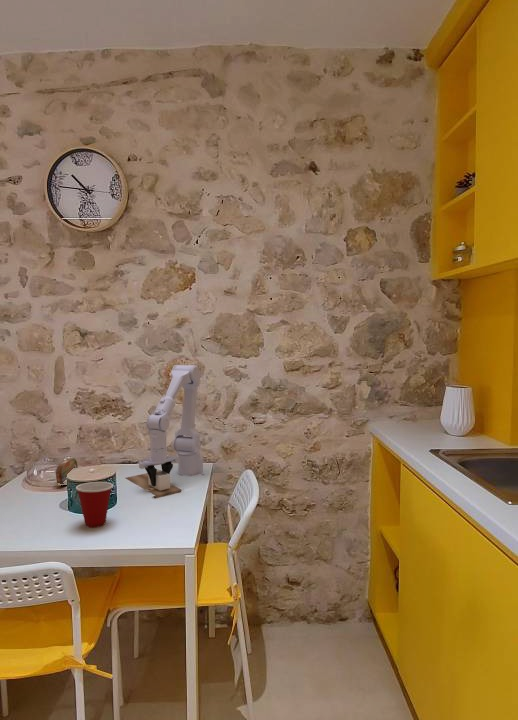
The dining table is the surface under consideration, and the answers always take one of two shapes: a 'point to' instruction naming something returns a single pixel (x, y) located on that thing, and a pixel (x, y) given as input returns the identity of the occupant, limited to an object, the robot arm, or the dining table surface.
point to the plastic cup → (94, 502)
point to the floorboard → (144, 483)
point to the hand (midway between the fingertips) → (159, 484)
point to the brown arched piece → (65, 469)
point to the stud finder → (161, 480)
